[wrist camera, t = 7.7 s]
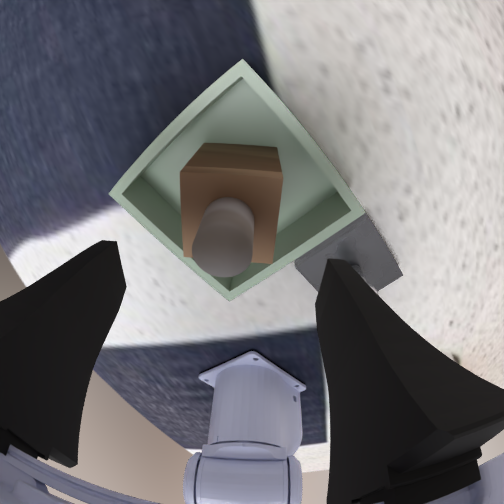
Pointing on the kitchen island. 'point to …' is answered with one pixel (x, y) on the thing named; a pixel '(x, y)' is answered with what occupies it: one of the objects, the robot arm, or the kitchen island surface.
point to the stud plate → (352, 255)
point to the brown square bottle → (230, 206)
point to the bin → (248, 133)
